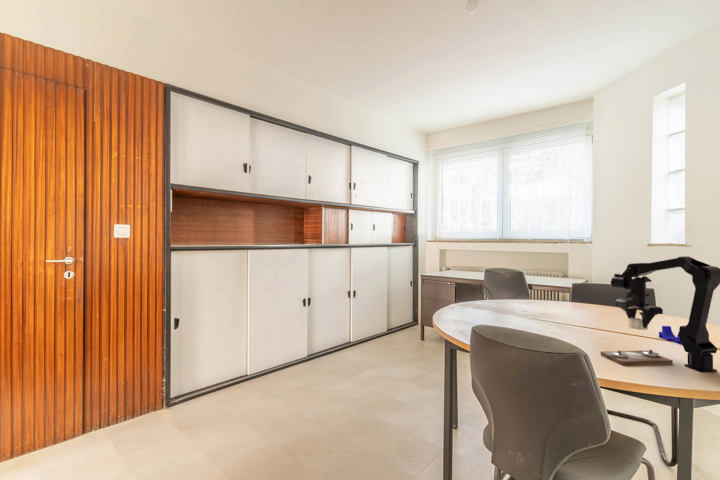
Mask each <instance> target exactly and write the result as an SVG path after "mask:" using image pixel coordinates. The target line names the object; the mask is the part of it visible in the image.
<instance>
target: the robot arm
mask: <svg viewBox="0 0 720 480" xmlns="http://www.w3.org/2000/svg"><path fill="white" fill-rule="evenodd" d="M675 268H676V269H677V268H680V269H682V270H683V271H684V272H685V273H687V274H688V275H690V276H691V279H692V280H691V281H692V283H693V285H694V289H695V290H694V293H693V294H694V295H693V299H692V303H691V307H690V312H689V318H688V322H687V324H686V325H680V326H679V329H678V332H679V334H677V336H679V341H680V342H681V343H682V345H681V346H682V348H683V350H684V352H685V353H687V363H685V364H684V366H685V367H688V368H691V369H693V370H695V371H698V372H702V373H703V372H706V373H707V372H710V373H711V372H712V373H713V372H718V369H717V368H714V355H713V354H716V353H717V351H718V347H717V346H716V345H714V343H712V342H711V340H710V333H709V330H708V329H707V323H708V319H709V312H710V308H711V304H712V299H713V296H714V295H713V294H714V291H715V290H716V289H717V288H718V287H719V286H720V267H718V266H713V265H710V264H708V263H705V262H703V261H700V260H697V259H695V258H694V257H691V256H677V257H674V258H668V259H663V260H658V261H652V262H633V263H628V264H627V266H626V268H625V270H624V271H623V273H622V274H621V273H614V275H613V276H612V278H611V281H610V285H611V287H612V288H614V289H621V290H629V292H627V293H626V296H623V297H620V298H617V299H616V300H615V307H618V308H620V309H621V310H623V311H624V312H625V314H626V316H627V318H628V320H629V318H636V317H637V311H638V310H641V312H638V314H639V315H640V316H641V319H642V323H643V328H646V327H647V326H648V327H649V324H650V323H651V321H652V320H653V319H654V317H655V316H657V315H663V314H664V312H663V311H664V309H663V308H662V307H660V306H655V305H650V303H649V302H647V297H650V296H649V295H650V294H649V293H647V283H652V279H650V278H649V277H648V276H647V275H650V274H653V273H655V272H658V271H663V270H669V269H670V270H671V269H675ZM677 336H676V337H677Z"/></svg>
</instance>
